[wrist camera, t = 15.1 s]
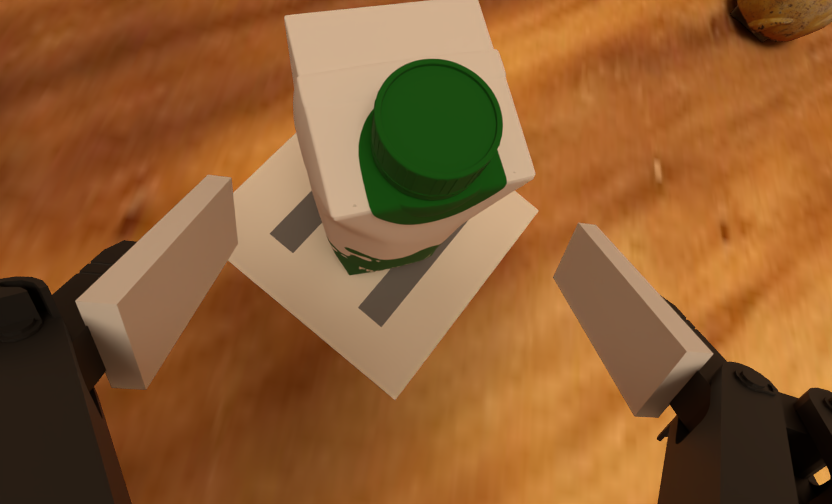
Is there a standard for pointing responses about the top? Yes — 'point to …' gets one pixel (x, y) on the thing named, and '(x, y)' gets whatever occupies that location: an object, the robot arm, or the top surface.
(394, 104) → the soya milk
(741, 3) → the decorative figurine
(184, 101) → the top surface
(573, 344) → the top surface
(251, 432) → the top surface
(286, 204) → the board
